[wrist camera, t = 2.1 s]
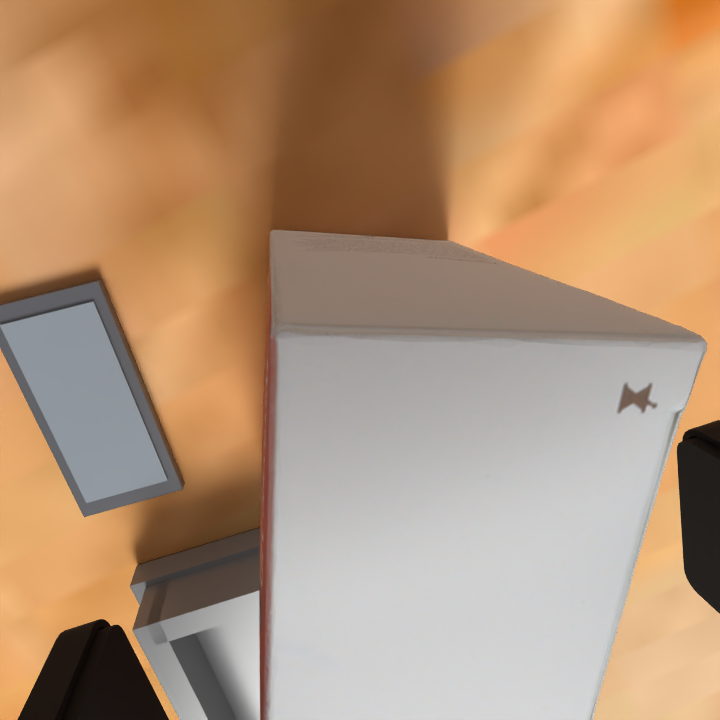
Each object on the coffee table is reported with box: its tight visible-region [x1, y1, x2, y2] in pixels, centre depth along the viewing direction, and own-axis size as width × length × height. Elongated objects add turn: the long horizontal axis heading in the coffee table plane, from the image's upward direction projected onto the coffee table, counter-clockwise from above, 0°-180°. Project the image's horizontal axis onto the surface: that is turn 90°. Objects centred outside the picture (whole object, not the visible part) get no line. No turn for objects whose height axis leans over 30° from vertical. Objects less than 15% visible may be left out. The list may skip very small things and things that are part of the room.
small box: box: [259, 230, 707, 720], centre depth 12 cm, size 8×6×10 cm
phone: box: [0, 279, 185, 517], centre depth 16 cm, size 7×3×1 cm, turn 13°
